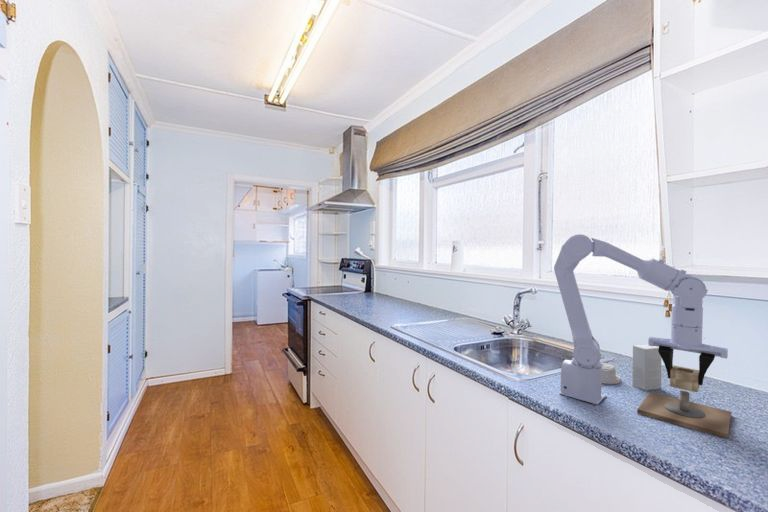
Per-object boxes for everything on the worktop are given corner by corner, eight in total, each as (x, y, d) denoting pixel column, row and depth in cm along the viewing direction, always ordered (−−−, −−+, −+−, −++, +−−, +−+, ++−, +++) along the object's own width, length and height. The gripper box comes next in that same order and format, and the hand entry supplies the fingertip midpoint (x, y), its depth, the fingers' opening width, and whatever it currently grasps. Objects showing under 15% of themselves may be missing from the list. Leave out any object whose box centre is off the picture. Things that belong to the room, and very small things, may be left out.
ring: (670, 386, 87) (670, 370, 87) (673, 381, 90) (673, 365, 90) (697, 392, 83) (697, 375, 83) (699, 386, 87) (700, 370, 86)
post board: (637, 413, 88) (637, 391, 87) (649, 395, 98) (650, 375, 98) (727, 438, 76) (728, 413, 76) (731, 415, 86) (731, 393, 86)
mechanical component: (598, 371, 117) (575, 375, 114) (599, 358, 117) (575, 361, 114) (628, 383, 108) (603, 387, 104) (628, 368, 107) (603, 372, 104)
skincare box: (646, 383, 107) (648, 343, 106) (661, 388, 103) (662, 347, 102) (631, 385, 105) (632, 345, 105) (645, 391, 101) (646, 349, 101)
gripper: (646, 322, 89) (645, 376, 89) (727, 333, 78) (725, 394, 79) (652, 318, 94) (650, 370, 94) (728, 328, 83) (727, 385, 84)
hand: (685, 380), depth 87 cm, fingers closed on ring, 5 cm apart
